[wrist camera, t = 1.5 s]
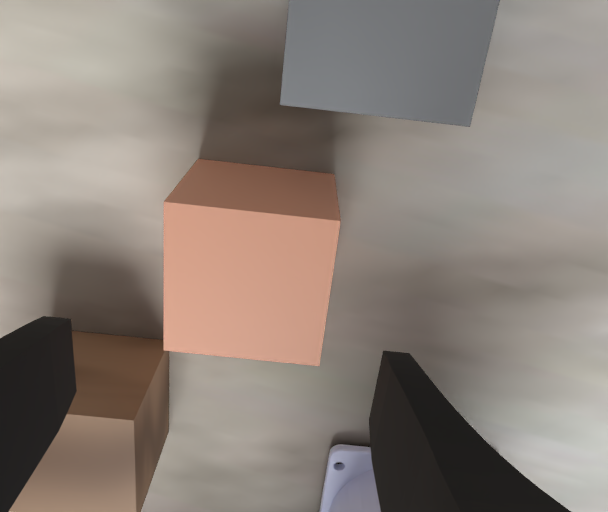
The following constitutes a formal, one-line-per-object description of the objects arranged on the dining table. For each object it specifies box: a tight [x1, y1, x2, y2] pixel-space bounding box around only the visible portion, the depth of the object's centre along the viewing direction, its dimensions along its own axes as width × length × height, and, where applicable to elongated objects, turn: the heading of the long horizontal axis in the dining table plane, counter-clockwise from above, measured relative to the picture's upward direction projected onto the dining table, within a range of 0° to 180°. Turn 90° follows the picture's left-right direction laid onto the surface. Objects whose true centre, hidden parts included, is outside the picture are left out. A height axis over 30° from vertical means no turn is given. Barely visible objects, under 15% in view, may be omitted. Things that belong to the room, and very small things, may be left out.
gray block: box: [280, 0, 500, 127], centre depth 15 cm, size 5×5×5 cm
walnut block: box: [9, 331, 169, 512], centre depth 21 cm, size 5×5×5 cm
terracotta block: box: [164, 159, 341, 366], centre depth 18 cm, size 5×5×5 cm
